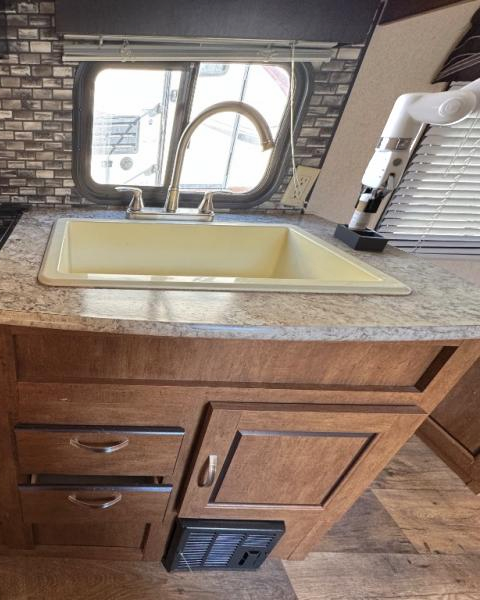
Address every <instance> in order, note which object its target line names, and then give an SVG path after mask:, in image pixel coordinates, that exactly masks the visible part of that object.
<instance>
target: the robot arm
mask: <svg viewBox="0 0 480 600" xmlns="http://www.w3.org/2000/svg"><path fill="white" fill-rule="evenodd" d="M479 112H480V77H479V78H477V79H475V80H474V81H472V82H470V83H468V84H466V85H464V86H463V87H462V88H459V89H453V90H447V91H446V90H445V91H439V92H427V91H426V92H421V91H419V92H408V93H403V94H401V95H400V96H399V97H398V98H397V99H396V101H395V102H394V105H393V108H392V110H391V112H390V114H389V117H388V118H387V121H386V124H385V126H384V128H383V131H382V133H381V135H380V137H379V140H378V142H377V144H376V146H375V149H374V151H375V152H374V154H373V155H372V158H371V160H370V161H369V163H368V165H367V167H366V168H365V172H364V174H363V176H362V179H361V182H360V185H361V187H360V188H361V189H360V192H359V197H358V198H357V201H356V203H355V204H354V209H356V208H357V206H358V204H359V201H360V197H361V195H362V194H372V196H371V199H369V200H368V202H367V204H366V206H365V208H364V211H363V212H364V213H373V214H377V212H378V211H379V208H380V207H381V204H382V203H383V201H384V200H385V198H386V196H388V195H389V194H390V193H392V192H393V190H396V189H397V187H398V185H399V183H400V181H401V179H402V177H403V175H404V172H405V169H406V167H407V164H408V162H409V158H410V153H411V150H412V148H413V146H414V144H415V143H416V140H417V138H418V137H419V134H420V132H421V130H422V129H423V125H424V124H430V125H437V126H449V125H454V124H456V123H457V124H458V123H459V122H461V121H464V120H465V119H467V118H469V117H471V116H473V115H474V114H477V113H479Z"/></svg>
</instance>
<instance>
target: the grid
mask: <svg viewBox="0 0 480 600" xmlns="http://www.w3.org/2000/svg"><path fill="white" fill-rule="evenodd" d="M349 224H350V223H339V222H338V223H337V225H336V228H335V230H334V233H333V235H332V236H333V237H335V238H336V239H337V240H339V241H340V242H342V243H343V244H344V245H346V246H348V247H349V248H350V249H352V250H353V251H365V252H375V253H383V252H384V250H385V248H386V247H387V245H388V242H389V241H390V237H389V238H388V237H387V236H385V235H383V234H381V233H379V232H377V231H376V230H374V229H372V228H370V227H368V226H367V227H366V229H365V231H364V230H350V229H348V227H349Z"/></svg>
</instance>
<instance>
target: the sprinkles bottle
mask: <svg viewBox="0 0 480 600" xmlns="http://www.w3.org/2000/svg"><path fill="white" fill-rule="evenodd" d="M371 196H372V194H362V195H361V197H360V201H359V204H358V206H357V208H355V211H354V213H353V215H352V217H351V220H350V222H349V223H348V224H349V227H348V229H350V230H364V231H365V229H366V227H368V225H369V224H370V221H371V219H372V216H373V214H374V213H364V212H363V211H364V208H365V206H366V204H367V202H368V200H369V199H371Z"/></svg>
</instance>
